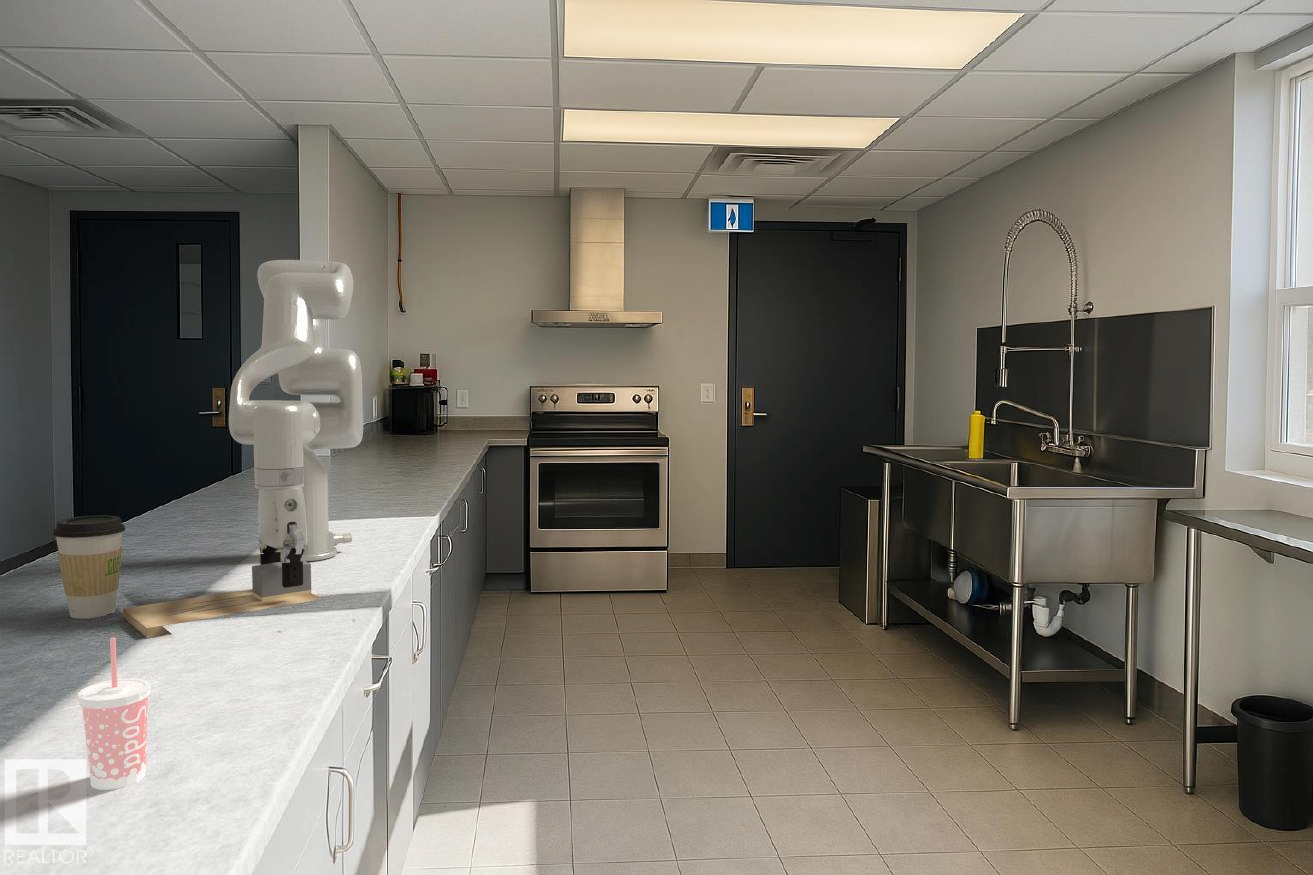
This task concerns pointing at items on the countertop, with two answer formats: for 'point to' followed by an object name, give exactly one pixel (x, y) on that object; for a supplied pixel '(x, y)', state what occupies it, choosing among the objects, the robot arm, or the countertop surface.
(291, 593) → the block
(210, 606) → the board
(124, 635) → the countertop surface
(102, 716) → the beverage cup
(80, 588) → the coffee cup
